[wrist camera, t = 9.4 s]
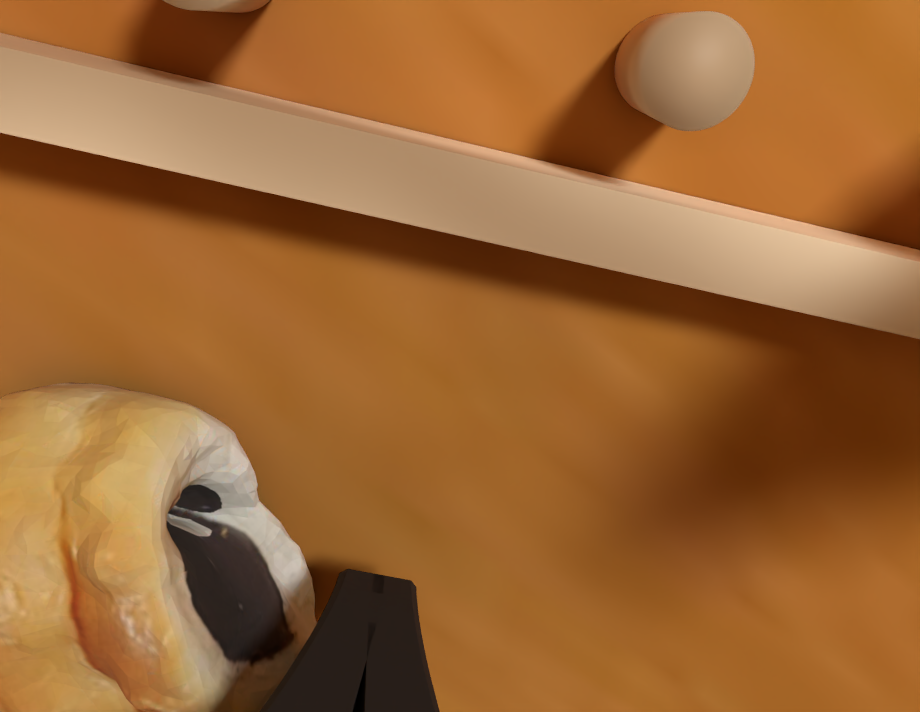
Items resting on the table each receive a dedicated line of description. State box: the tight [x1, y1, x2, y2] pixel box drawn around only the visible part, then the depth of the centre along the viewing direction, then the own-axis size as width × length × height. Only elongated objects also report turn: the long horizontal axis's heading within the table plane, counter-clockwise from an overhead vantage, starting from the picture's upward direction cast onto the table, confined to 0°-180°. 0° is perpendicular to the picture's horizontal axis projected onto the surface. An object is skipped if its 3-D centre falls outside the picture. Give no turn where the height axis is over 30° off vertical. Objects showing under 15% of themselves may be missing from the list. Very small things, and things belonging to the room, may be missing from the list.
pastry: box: [0, 383, 317, 712], centre depth 11 cm, size 9×7×4 cm
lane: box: [0, 0, 920, 339], centre depth 11 cm, size 17×23×2 cm
